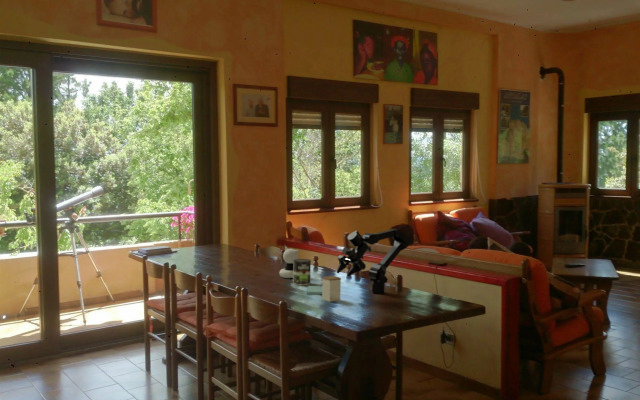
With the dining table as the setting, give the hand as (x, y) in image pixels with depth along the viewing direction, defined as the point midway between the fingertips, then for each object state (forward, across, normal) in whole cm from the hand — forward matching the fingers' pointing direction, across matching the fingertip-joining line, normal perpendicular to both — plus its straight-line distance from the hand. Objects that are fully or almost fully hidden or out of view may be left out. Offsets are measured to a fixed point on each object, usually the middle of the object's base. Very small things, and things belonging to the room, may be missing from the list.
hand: (342, 274), depth 308 cm
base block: (+10, -19, +9) cm, 23 cm away
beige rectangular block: (+14, 0, +4) cm, 15 cm away
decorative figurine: (+4, -63, +14) cm, 65 cm away
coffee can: (+8, -42, +10) cm, 44 cm away
